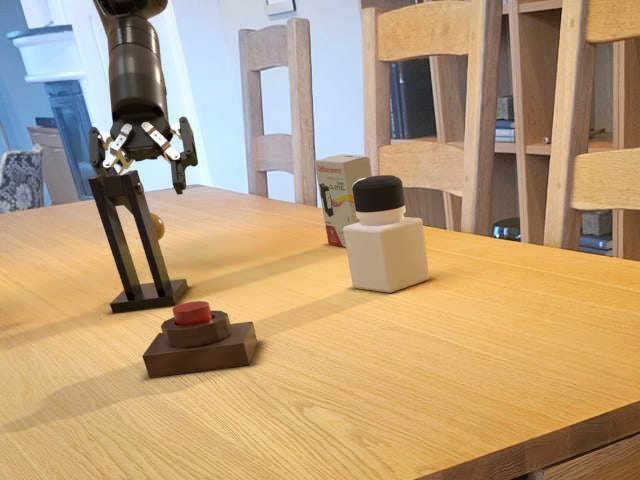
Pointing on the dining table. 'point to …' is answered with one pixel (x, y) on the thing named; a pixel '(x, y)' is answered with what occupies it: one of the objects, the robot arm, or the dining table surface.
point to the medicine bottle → (384, 238)
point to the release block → (200, 346)
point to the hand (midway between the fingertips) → (147, 194)
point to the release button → (192, 313)
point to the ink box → (340, 191)
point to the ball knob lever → (119, 198)
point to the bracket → (134, 292)
